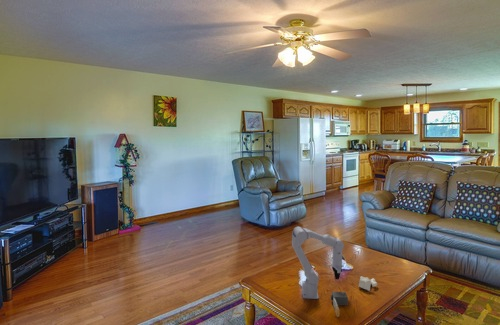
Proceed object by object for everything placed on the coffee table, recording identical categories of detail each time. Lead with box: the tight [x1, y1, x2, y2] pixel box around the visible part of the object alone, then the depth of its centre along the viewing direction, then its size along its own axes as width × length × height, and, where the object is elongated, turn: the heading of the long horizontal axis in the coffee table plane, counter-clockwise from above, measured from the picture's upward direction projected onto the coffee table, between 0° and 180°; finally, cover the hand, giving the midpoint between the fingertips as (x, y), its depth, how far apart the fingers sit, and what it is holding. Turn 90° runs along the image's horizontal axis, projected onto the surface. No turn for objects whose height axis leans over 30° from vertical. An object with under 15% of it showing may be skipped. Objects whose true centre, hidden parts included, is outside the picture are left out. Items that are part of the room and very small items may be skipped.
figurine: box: [358, 275, 378, 292], centre depth 196 cm, size 7×9×15 cm
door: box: [332, 297, 340, 318], centre depth 170 cm, size 12×1×5 cm, turn 177°
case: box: [330, 291, 349, 306], centre depth 179 cm, size 9×6×5 cm, turn 84°
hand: (336, 278), depth 188 cm, fingers closed
